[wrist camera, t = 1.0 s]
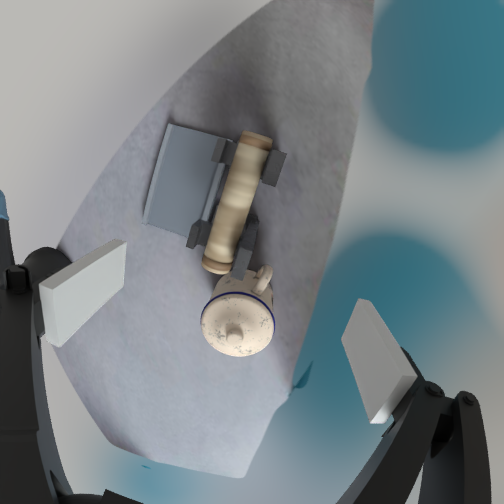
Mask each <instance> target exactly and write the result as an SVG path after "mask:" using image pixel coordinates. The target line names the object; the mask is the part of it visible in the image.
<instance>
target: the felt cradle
mask: <svg viewBox="0 0 504 504" xmlns="http://www.w3.org/2000/svg"><path fill="white" fill-rule="evenodd" d="M219 138H222V137H219ZM223 139H225V138H223ZM217 140H218V136H215V135H211V134H207V133H204V132H200V131H196V130H192V129H188V128H184V127H180V126H176V125H173V124H169V123H168V126H167V129H166V132H165V136H164V139H163V142H162V146H161V149H160V152H159V156H158V159H157V163H156V166H155V170H154V174H153V178H152V182H151V185H150V189H149V193H148V198H147V202H146V206H145V210H144V215H143V219H142V224H144V225H147V224H150V225H153V226H156V227H159V228H162V229H165V230H167V231H170V232H173V233H176V234H179V235H182V236H185V237H189V233H190V229H191V226H192V224H193V223H195V222H196V221H197V220H198V219H201V220H204V221H209V218H210V214H211V211H212V208H213V204H214V201H215V198H216V194H217V191H218V188H219V185H220V182H221V179H222V175H223V172H224V169H225V166H226V164H223V163H216V162H213V161H211V158H212V155H213V152H214V149H215V146H216V143H217ZM226 140H228V141H231V142H234V141H233V140H230V139H226Z"/></svg>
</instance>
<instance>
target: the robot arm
mask: <svg viewBox="0 0 504 504" xmlns="http://www.w3.org/2000/svg"><path fill="white" fill-rule="evenodd" d="M8 221H9V217H8V215H7V209H6V201H5V196H4V194H3V192H2V191H1V190H0V504H143V503H141V502H138V501H135V500H132V499H129V498H127V497H124V496H121V495H119V494H116V493H114V492H111V491H109V490H107V489H105V492H104V494H103V496H101V495H94V494H73V492H72V489H71V487H70V485H69V483H68V481H67V479H66V476H65V473H64V470H63V467H62V464H61V460H60V457H59V454H58V450H57V446H56V442H55V437H54V433H53V429H52V424H51V419H50V414H49V408H48V403H47V396H46V390H45V382H44V374H43V364H42V352H41V339H40V338H41V337H42V335H44V334H46V340H47V342H49V343H51V344H53V345H55V346H57V347H59V348H60V347H61V346H62V345H63V344H64V343H65V342H66V341H67V340H68V339H69V338H70V337H71V336H72V335H73V334H74V333H75V332H76V331H77V330H78V329H79V328H80V327H81V326H82V325H83V324H84V323H85V322H86V321H87V320H88V319H89V318H90V317H91V316H92V315H93V314H94V313H95V312H96V311H97V310H98V309H100V308H101V307H102V306H103V305H104V304H105V303H106V302H107V301H108V300H109V299H110V298H111V297H112V296H113V295H114V294H115V293H116V292H118V291H119V290H120V289H121V288H122V287H123V286H124V270H125V257H126V246H127V242H126V241H122V240H119V239H114V240H112V241H110V242H108V243H106V244H105V245H103V246H101V247H99V248H98V249H96V250H94V251H92V252H91V253H89V254H87V255H85V256H84V257H82V258H80V259H79V260H77V261H75V262H74V263H71V262H70V261H69V260H68V258H67V257H66V256H65V255H63V254H62V253H61V252H60V251H58V250H56V249H54V248H51V247H42V248H40V249H38V250H35V251H33V252H32V253H31V254H29V255H28V257H27V258H26V259H25V261H24V263H23V264H22V265H19V264H18V265H15V261H14V256H13V251H12V244H11V238H10V230H9V222H8ZM341 340H342V343H343V346H344V349H345V351H346V354H347V357H348V360H349V363H350V365H351V368H352V371H353V374H354V377H355V380H356V383H357V385H358V388H359V391H360V394H361V397H362V400H363V404H364V406H365V409H366V413H367V416H368V419H369V422H370V423H385V422H386V421H387V420H388V418H389V417H390V416H391V414H392V415H393V418H394V422H393V423H392V424H391V425H390V426H389V428H388V429H387V430H386V431H385V433H384V434H383V435H382V437H383V438H382V440H381V442H380V444H379V445H378V446H377V448H376V450H375V451H374V453H373V454H372V456H371V457H370V459H369V460H368V462H367V463H366V465H365V466H364V468H363V469H362V470H361V472H360V473H359V475H358V476H357V477H356V479H355V480H354V482H353V483H352V484H351V485H350V487H349V488H348V489H347V491H346V492H345V493H344V494H343V496H342V497H341V498H340V499H339V501H338V502H337V503H336V504H405V502H406V500H407V499H408V496H409V494H410V492H411V490H412V488H413V486H414V484H415V482H416V479H417V477H418V475H419V472H420V470H421V467H422V465H423V463H424V465H423V474H422V482H421V488H420V495H419V501H418V504H491V479H490V468H489V458H488V450H487V443H486V436H485V431H484V425H483V419H482V415H481V409H480V405H479V402H478V400H477V399H476V397H475V396H474V395H473V394H472V393H469V392H466V391H460V392H459V393H458V394H457V396H456V397H455V399H452V398H449V397H445V394H444V392H443V390H442V389H441V388H440V387H439V386H438V385H437V384H435V383H432V382H430V381H425V379H424V377H423V376H422V374H421V373H420V371H419V369H418V368H417V366H416V364H415V363H414V362H413V361H412V358H411V356H410V355H409V353H407V351H405V350H404V349H403V348H402V347H400V346H399V345H398V343H397V342H396V340H395V338H394V337H393V335H392V334H391V332H390V331H389V329H388V327H387V326H386V325H385V323H384V321H383V320H382V318H381V317H380V315H379V314H378V312H377V311H376V309H375V308H374V306H373V305H372V303H371V302H370V301H368V300H363V299H358V301H357V303H356V306H355V308H354V311H353V313H352V315H351V318H350V320H349V322H348V325H347V327H346V329H345V331H344V334H343V336H342V338H341Z"/></svg>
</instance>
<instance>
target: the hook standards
mask: <svg viewBox="0 0 504 504" xmlns="http://www.w3.org/2000/svg"><path fill="white" fill-rule="evenodd" d="M238 144H239V140H238V141H237V143H234V142H231V141H228V140H226V139H223V138H219V137H218V140H217V143H216V146H215V149H214V152H213V155H212V158H211V161H213V162H216V163H223V164H226V165H229V168H228V169H230V168H231V165H232V162H233V159H234V155H235V152H236V150H237V147H238ZM286 155H287V154H286V153H283V152H281V151H278V150H275V149H273V151H272V150H270V152H269V153H268V156H267V159H266V162H265V165H264V168H263V171H262V174H261V177H260V179H262V183H265V184H268V185H271V186H274V187H275V186H276V184H277V181H278V178H279V175H280V172H281V169H282V166H283V163H284V161H285V158H286ZM218 205H219V204H217V206H216V209H215V213H214V216H213V219H212V223H211V222H208V221H204V220H201V219H198V220H197V221H196V222H195V223H193V224H192V226H191V229H190V233H189V237H188V240H187V244H186V247H188V248H191V249H194V248H195V246H196V245H197V244H200V245H202V246H205V247H206V245H207V242H208V239H209V235H210V232H211V229H212V225H213V222H214V219H215V215H216V212H217V209H218ZM258 225H259V221H257V216H254V215H251V214H248V215H247V218H246V221H245V224H244V227H243V230H242V233H241V236H240V239H239V242H238V245H237V248H236V252H235V255H234V256H235V257H237V258H236V261H235V264H234V267H233V270H232V273H231V276H230V277H231V278H234V279H237V280H240V281H243V278H244V276H245V273H246V270H247V267H248V264H249V261H250V258H251V255H252V253H253V248H254V244H255V239H256V234H257V230H258Z"/></svg>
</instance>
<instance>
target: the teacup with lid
mask: <svg viewBox="0 0 504 504" xmlns="http://www.w3.org/2000/svg"><path fill="white" fill-rule="evenodd" d="M231 273H232V271H231V272H229V273H227V274H225V275H224V276H223V277H222V278H221V279H220V280H219V281H218V283H217V285H216V287H215V289H214V291H213V294H212V296H211V298H210V300H209V302H208V303H207V304H206V306H205V307H204V309H203V311H202V314H201V328H202V332H203V334H204V336H205V338H206V340H207V341H208V342H209V343H210V344H211V345H212V346H213V347H214V348H215V349H217V350H218V351H220V352H222V353H224V354H227V355H231V356H248V355H252V354H255V353H257V352H259V351H260V350H262V349H263V348H265V347H266V346H267V344H268V343H269V342H270V340H271V339H272V337H273V334H274V331H275V320H274V316H273V292H272V289H271V286H270V284H269V281H270V279H271V277H272V274H273V269H272V267H270V266H269V265H263V266H262V267H261V268H260V269H259V270H258V272H257V273H256V272H254V271H251V270H246V273H245V276H244V278H243V281H240V280H237V279H234V278H231V277H230V276H231Z"/></svg>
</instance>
